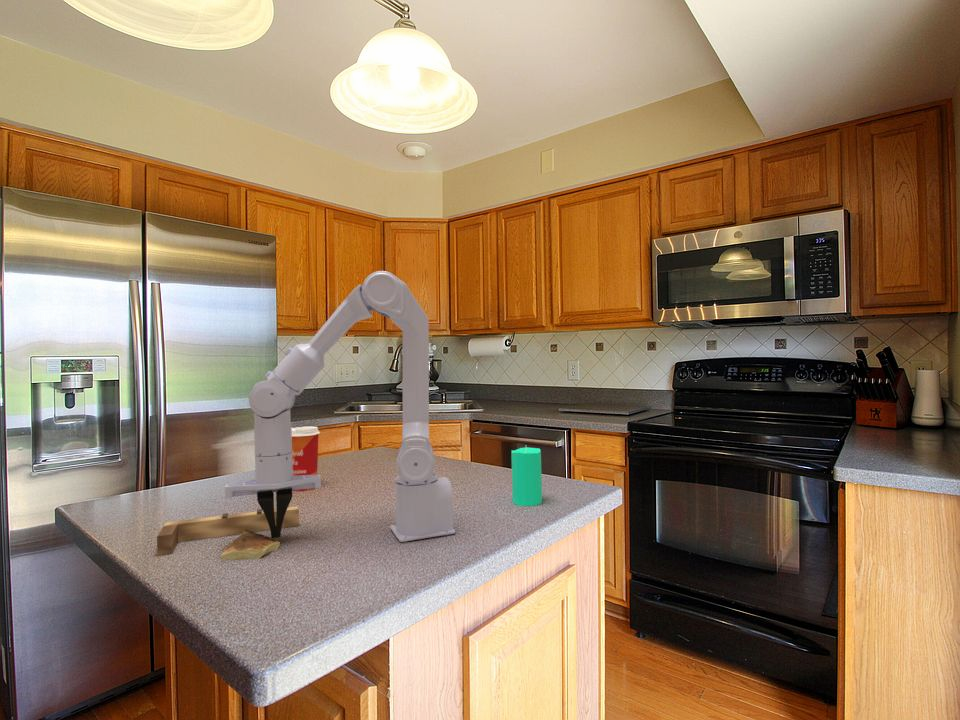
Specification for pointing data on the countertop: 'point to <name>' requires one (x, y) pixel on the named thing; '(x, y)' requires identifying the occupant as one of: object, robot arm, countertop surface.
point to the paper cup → (305, 451)
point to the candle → (526, 476)
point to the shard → (249, 546)
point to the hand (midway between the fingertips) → (275, 535)
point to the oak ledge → (218, 527)
